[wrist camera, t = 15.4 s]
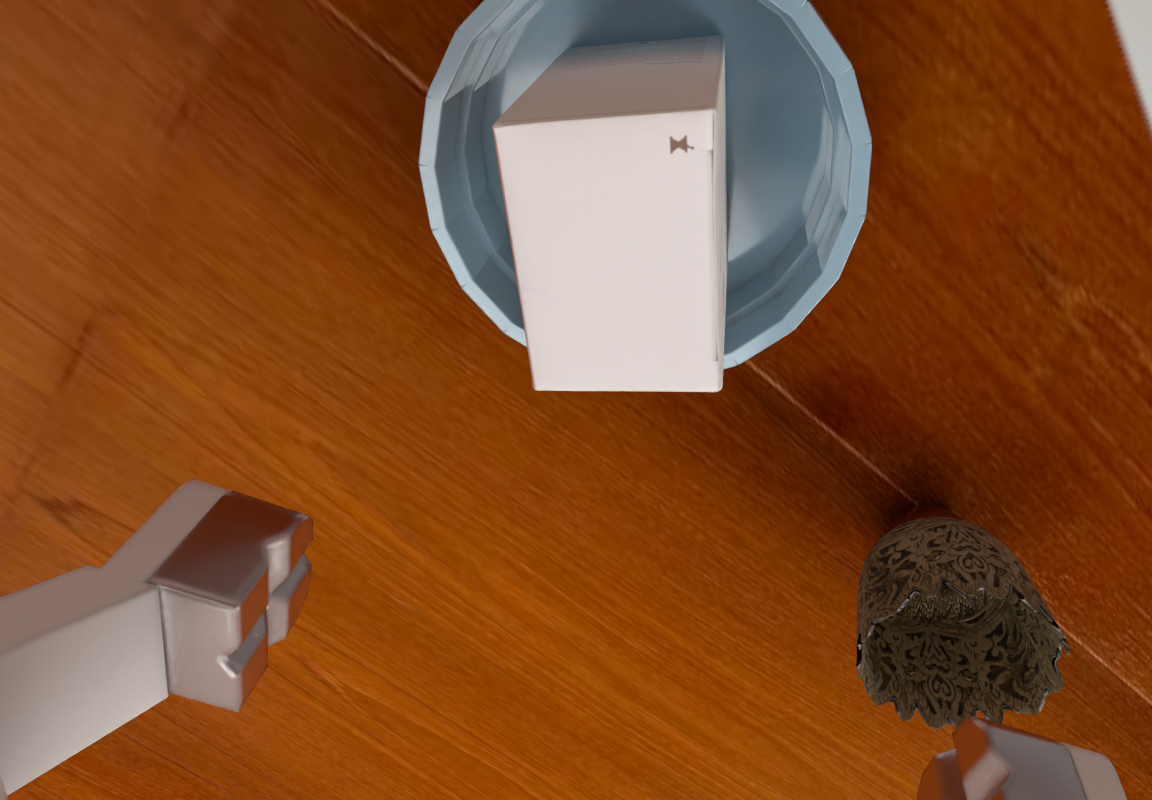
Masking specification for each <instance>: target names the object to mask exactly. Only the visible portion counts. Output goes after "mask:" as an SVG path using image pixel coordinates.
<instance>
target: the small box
mask: <svg viewBox="0 0 1152 800" xmlns="http://www.w3.org/2000/svg"><path fill="white" fill-rule="evenodd" d="M492 130H493V135H494V142H495V148H496V154H497V161H498V168H499V174H500V180H501V186H502V192H503V198H504V204H505V211H506V217H507V223H508V229H509V236H510V242H511V248H512V254H513V261H514V267H515V273H516V280H517V286H518V292H519V298H520V305H521V310H522V317H523V324H524V330H525V337H526V343H527V349H528V356H529V362H530V368H531V374H532V381H533V389H535V390H538V391H542V390H553V391H671V392H718V391H719V390H721V389H722V385H723V362H724V337H725V312H726V286H727V266H728V236H727V176H726V97H725V40H724V36H723V35H713V36H704V37H691V38H679V39H667V40H655V41H643V42H631V43H619V44H607V45H595V46H584V47H572V48H567V49H565V50H564V52H563V53H562V54H561V55H560V56H559V57H558V58H557V59H556V60H555V61H554V62H553V63H552V64H551V65H550V66H549V67H548V68H547V69H546V70H545V71H544V72H543V73H542V74H541V75H540V76H539V77H538V78H537V79H536V80H535V81H534V82H533V83H532V85H531V86H530V87H529V88H528V89H527V90H526V91H525V92H524V93H523V94H522V95H521V96H520V97H519V98H518V99H517V100H516V101H515V102H514V103H513V104H512V105H511V106H510V107H509V108H508V109H507V111H506V112H505V113H504V114H503V115H502V116H501V117H500V118H499V119H498V120H497V121H496V122H495V123H494V124H493V126H492Z"/></svg>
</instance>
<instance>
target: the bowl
mask: <svg viewBox="0 0 1152 800" xmlns="http://www.w3.org/2000/svg"><path fill="white" fill-rule="evenodd" d="M713 35H723V36H724V40H725V97H726V176H727V236H728V266H727V286H726V312H725V337H724V362H723V369H727V368H730V367H734V366H737V365H738V364H741V363H743V362H744V361H746V360H747V359H749V358H751V357H752V356H754V355H756V354H757V353H759V352H760V351H762V350H764V349H765V348H767V347H768V346H770V345H772V344H773V343H775V342H777V341H778V340H780V339H781V338H783V337H785V336H786V335H788V334H789V333H791V332H792V331H793V330H795V329H796V327H797V326H798V325H799V324H800V323H801V322H802V321H803V320H804V318H805V317H806V316H807V315H808V314H809V313H810V312H811V310H812V309H813V308H814V307H815V306H816V305H817V304H818V302H819V301H820V300H821V299H822V298H823V297H824V296H825V294H826V293H827V292H828V291H829V290H830V289H831V288H832V286H833V285H834V284H835V283H836V282H837V280H838V279H839V277H840V275H841V272H842V270H843V268H844V265H845V263H846V261H847V259H848V256H849V254H850V252H851V249H852V247H853V245H854V242H855V240H856V238H857V236H858V233H859V231H860V229H861V226H862V224H863V222H864V219H865V215H866V210H867V198H868V187H869V175H870V164H871V152H872V142H871V141H872V138H871V134H870V130H869V126H868V122H867V118H866V114H865V110H864V107H863V103H862V99H861V95H860V91H859V87H858V83H857V79H856V75H855V71H854V68H853V66H852V64H851V62H850V60H849V58H848V57H847V55H846V53H845V51H844V50H843V48H842V46H841V44H840V42H839V41H838V39H837V38H836V36H835V35H834V33H833V32H832V30H831V29H830V27H829V26H828V24H827V23H826V21H825V20H824V18H823V17H822V16H821V14H820V13H819V11H818V10H817V8H816V7H815V5H814V4H813V2H812V1H811V0H484V1H483V2H482V3H481V4H480V5H479V6H478V7H477V8H476V9H475V10H474V11H473V12H472V13H471V14H470V15H469V16H468V17H467V18H466V19H465V20H464V21H463V22H462V23H461V25H460V26H459V27H458V29H457V30H456V31H455V33H454V35H453V37H452V40H451V42H450V44H449V46H448V48H447V50H446V53H445V55H444V57H443V59H442V61H441V64H440V66H439V68H438V70H437V72H436V74H435V77H434V79H433V81H432V83H431V85H430V88H429V90H428V92H427V96H426V100H425V109H424V118H423V127H422V136H421V145H420V154H419V170H420V175H421V181H422V186H423V191H424V196H425V201H426V207H427V212H428V217H429V222H430V228H431V229H432V233H433V235H434V237H435V239H436V240H437V242H438V244H439V246H440V248H441V250H442V252H443V254H444V256H445V258H446V260H447V262H448V264H449V266H450V267H451V269H452V271H453V273H454V275H455V277H456V279H457V281H458V283H459V285H460V286H462V287H461V288H462V289H463V290H464V291H465V292H466V293H467V294H468V295H469V297H470V298H471V299H472V300H473V301H474V302H475V303H476V304H477V305H478V306H479V307H480V308H481V309H482V310H483V311H484V312H485V314H486V315H487V316H488V317H489V318H490V319H491V320H492V321H493V322H494V323H495V324H496V325H497V326H498V327H499V328H500V330H501V331H502V332H504V333H505V334H506V335H508V336H509V337H511V338H513V339H514V340H516V341H518V342H519V343H521V344H523V345H524V346H526V347H527V343H526V337H525V330H524V324H523V317H522V310H521V305H520V298H519V292H518V286H517V280H516V273H515V267H514V261H513V254H512V248H511V242H510V236H509V229H508V223H507V217H506V211H505V204H504V198H503V192H502V186H501V180H500V174H499V168H498V161H497V154H496V148H495V142H494V135H493V130H492V126H493V124H494V123H495V122H496V121H497V120H498V119H499V118H500V117H501V116H502V115H503V114H504V113H505V112H506V111H507V109H508V108H509V107H510V106H511V105H512V104H513V103H514V102H515V101H516V100H517V99H518V98H519V97H520V96H521V95H522V94H523V93H524V92H525V91H526V90H527V89H528V88H529V87H530V86H531V85H532V83H533V82H534V81H535V80H536V79H537V78H538V77H539V76H540V75H541V74H542V73H543V72H544V71H545V70H546V69H547V68H548V67H549V66H550V65H551V64H552V63H553V62H554V61H555V60H556V59H557V58H558V57H559V56H560V55H561V54H562V53H563V52H564V50H565V49H567V48H572V47H584V46H595V45H607V44H619V43H631V42H643V41H655V40H667V39H679V38H691V37H704V36H713Z"/></svg>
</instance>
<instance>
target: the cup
mask: <svg viewBox="0 0 1152 800" xmlns="http://www.w3.org/2000/svg"><path fill="white" fill-rule="evenodd" d="M1065 638H1066V636H1065V634H1064V632H1063V631H1062V629H1061V628H1060V627H1059V626H1058V624H1057V623H1056V621H1055V619H1054V618H1053V616H1052V614H1051V612H1050V611H1049V609H1048V607H1047V606H1046V604H1045V602H1044V600H1043V599H1042V597H1041V595H1040V594H1039V592H1038V590H1037V589H1036V587H1035V586H1034V584H1033V582H1032V581H1031V579H1030V577H1029V576H1028V574H1027V573H1026V571H1025V570H1024V568H1023V567H1022V565H1021V564H1020V562H1019V561H1018V560H1017V558H1016V557H1015V556H1014V554H1013V553H1012V552H1011V551H1010V550H1009V549H1008V548H1007V547H1006V546H1005V545H1004V544H1003V543H1002V542H1001V541H1000V540H999V539H998V538H997V537H995V536H994V535H992V534H991V533H989V532H988V531H987V530H985V529H983V528H981V527H979V526H977V525H974V524H972V523H969V522H966V521H963V520H962V519H961V518H960V517H959V516H958V515H956V514H955V513H953V512H952V511H950V510H948V509H945V508H942V507H938V506H932V505H923V506H916V507H912V508H909V509H907V510H905V511H903V512H901V513H900V514H898V515H897V516H896V517H895V518H894V519H893V520H892V521H891V522H890V524H889V525H888V527H887V529H886V532H885V534H884V536H883V537H882V538H881V539H880V540H879V541H878V542H877V543H876V544H875V545H874V546H873V548H872V549H871V550H870V552H869V554H868V556H867V558H866V560H865V562H864V564H863V567H862V571H861V575H860V580H859V587H858V600H857V663H856V668H857V673H858V677H859V679H862V678H863V681H864V686H865V689H866V691H867V693H868V695H869V697H870V698H871V700H872V701H873V703H874V704H875V705H877V706H879V705H882V704H885V703H886V702H893V703H894V705H895V708H896V711H897V713H898V715H899V717H900V718H902V720H903V721H905V722H907V721H908V720H910V719H912V716H913V715H914V711H915V708H917V709H918V712H919V713H920V715H921V716H922V718H923V719H924V721H925V722H926V723H927V724H928V725H929V726H931V727H933V728H935V729H941V728H942V727H944V726H946V724H948V723H950V724H952V725H953V726H954V727H955V728H957V727H958V726H959V725H960V723H961V722H962V721H963V720H966V719H968V718H970V717H973V716H976V713H977V712H976V711H977V710H979V711H980V712H981V713H982V714H983V715H984V716H985V718H986V719H987V720H989V721H992V722H995V723H999V724H1001V723H1002V719H1003V711H1004V710H1011V711H1014V712H1017V713H1019V714H1020V713H1029V714H1034V715H1036V714H1038V713H1039V712H1040V711H1041V709H1042V707H1043V705H1044V702H1045V699H1046V697H1048V694H1049V692H1050V693H1051V692H1055V693H1057V692H1059V691H1060V690H1062V688H1063V679H1062V676H1061V675H1060V673H1059V670H1058V666H1057V663H1056V662H1057V659H1058V658H1060V657H1062V651H1061V646H1062V647H1063V648H1064V650H1065V651H1066V653H1067V654H1068V655H1070V649H1069V646H1068V644H1067V642H1066V640H1065ZM914 704H915V705H916V706H914ZM913 706H914V707H913ZM1012 709H1013V710H1012Z"/></svg>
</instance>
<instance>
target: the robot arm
mask: <svg viewBox="0 0 1152 800" xmlns="http://www.w3.org/2000/svg"><path fill="white" fill-rule="evenodd" d="M312 540H313V519H312V518H310V517H309V516H308V515H305V514H302V513H299V512H296V511H293V510H289V509H286V508H283V507H280V506H277V505H274V504H271V503H268V502H265V501H262V500H259V499H256V498H253V497H250V496H247V495H244V494H241V493H238V492H235V491H230V490H227V489H224V488H221V487H218V486H215V485H212V484H209V483H205V482H202V481H199V480H196V479H193V480H191V481H189V482H186V483H184V484H182V485H181V486H180V487H179V488H178V489H177V490H176V491H175V492H174V493H173V494H172V495H171V496H170V497H169V498H168V499H167V500H166V501H165V502H164V503H163V504H162V505H161V506H160V507H159V508H158V509H157V510H156V511H155V512H154V513H153V514H152V515H151V516H150V518H149V519H148V520H147V521H146V522H145V523H144V524H143V525H142V526H141V527H140V528H139V529H138V530H137V531H136V532H135V533H134V534H133V535H132V536H131V537H130V538H129V539H128V540H127V541H126V542H125V543H124V544H123V545H122V546H121V547H120V548H119V549H118V550H117V551H116V553H115V554H114V555H113V556H112V557H111V558H110V559H109V560H108V561H107V562H106V563H105V564H104V565H103V566H102V567H101V568H98V567H94V566H91V565H86V566H84V567H81V568H78V569H76V570H73V571H70V572H68V573H65V574H62V575H59V576H57V577H54V578H51V579H49V580H46V581H43V582H41V583H38V584H35V585H33V586H30V587H27V588H25V589H22V590H19V591H16V592H14V593H11V594H8V595H6V596H3V597H0V800H8V795H9V794H11V793H12V792H14V791H16V790H17V789H19V788H21V787H22V786H24V785H26V784H27V783H29V782H30V781H32V780H34V779H35V778H37V777H39V776H40V775H42V774H43V773H45V772H47V771H48V770H50V769H52V768H53V767H55V766H56V765H58V764H60V763H61V762H63V761H65V760H66V759H68V758H69V757H71V756H73V755H74V754H76V753H78V752H79V751H81V750H83V749H84V748H86V747H87V746H89V745H91V744H92V743H94V742H96V741H97V740H99V739H100V738H102V737H104V736H105V735H107V734H109V733H110V732H112V731H113V730H115V729H117V728H118V727H120V726H122V725H123V724H125V723H126V722H128V721H130V720H131V719H133V718H135V717H136V716H138V715H140V714H141V713H143V712H144V711H146V710H148V709H149V708H151V707H153V706H154V705H156V704H157V703H159V702H161V701H162V700H164V699H166V698H167V697H168V692H169V693H172V694H176V695H179V696H183V697H186V698H190V699H193V700H197V701H200V702H204V703H207V704H211V705H214V706H218V707H222V708H225V709H229V710H232V711H236V712H239V710H240V709H241V707H242V706H243V704H244V703H245V701H246V699H247V698H248V696H249V695H250V693H251V692H252V690H253V688H254V687H255V685H256V684H257V682H258V681H259V679H260V678H261V676H262V674H263V673H264V671H265V670H266V668H267V660H268V646H270V645H272V644H274V643H276V642H278V641H280V640H282V639H284V638H286V636H287V635H288V633H289V632H290V630H291V628H292V627H293V625H294V623H295V622H296V620H297V618H298V616H299V613H300V611H301V609H302V606H303V604H304V601H305V599H306V597H307V592H308V588H309V584H310V579H311V563H310V562H309V560H308V559H307V557H306V556H305V554H304V552H305V550H306V549H307V547H308V546H309V544H310V543H311V541H312ZM952 735H953V739H954V744H955V749H952V750H949V751H946V752H943V753H940V754H937V755H935V756H934V757H933V759H932V760H931V762H930V763H929V764H928V766H927V767H926V769H925V770H924V772H923V774H922V778H921V782H920V785H919V789H918V793H917V800H1127V798H1126V795H1125V793H1124V790H1123V788H1122V785H1121V783H1120V780H1119V778H1118V775H1117V773H1116V770H1115V768H1114V766H1113V764H1112V763H1111V762H1110V761H1109V760H1108V759H1107V758H1106V756H1105V755H1104V754H1100V753H1097V752H1094V751H1090V750H1087V749H1083V748H1080V747H1077V746H1073V745H1070V744H1066V743H1063V742H1056V741H1055V740H1053V739H1050V738H1047V737H1043V736H1040V735H1036V734H1033V733H1030V732H1026V731H1023V730H1019V729H1016V728H1012V727H1009V726H1006V725H1002V724H999V723H995V722H992V721H988V720H985V719H982V718H978V717H975V716H973V717H970V718H968V719H966V720H963V721H962V722H961V723H960V725H959V726H958V727H957V728H956V729H955V731H954V732H953V733H952Z"/></svg>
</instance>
